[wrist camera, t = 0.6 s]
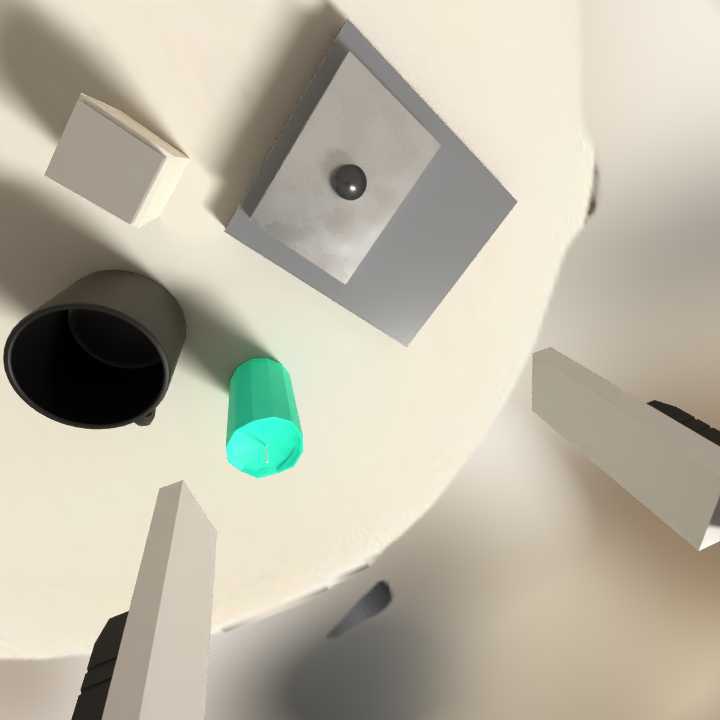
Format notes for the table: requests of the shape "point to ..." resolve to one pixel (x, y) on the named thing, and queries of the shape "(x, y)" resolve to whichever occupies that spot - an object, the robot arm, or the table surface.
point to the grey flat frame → (408, 224)
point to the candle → (262, 419)
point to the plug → (115, 163)
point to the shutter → (345, 172)
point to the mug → (98, 351)
